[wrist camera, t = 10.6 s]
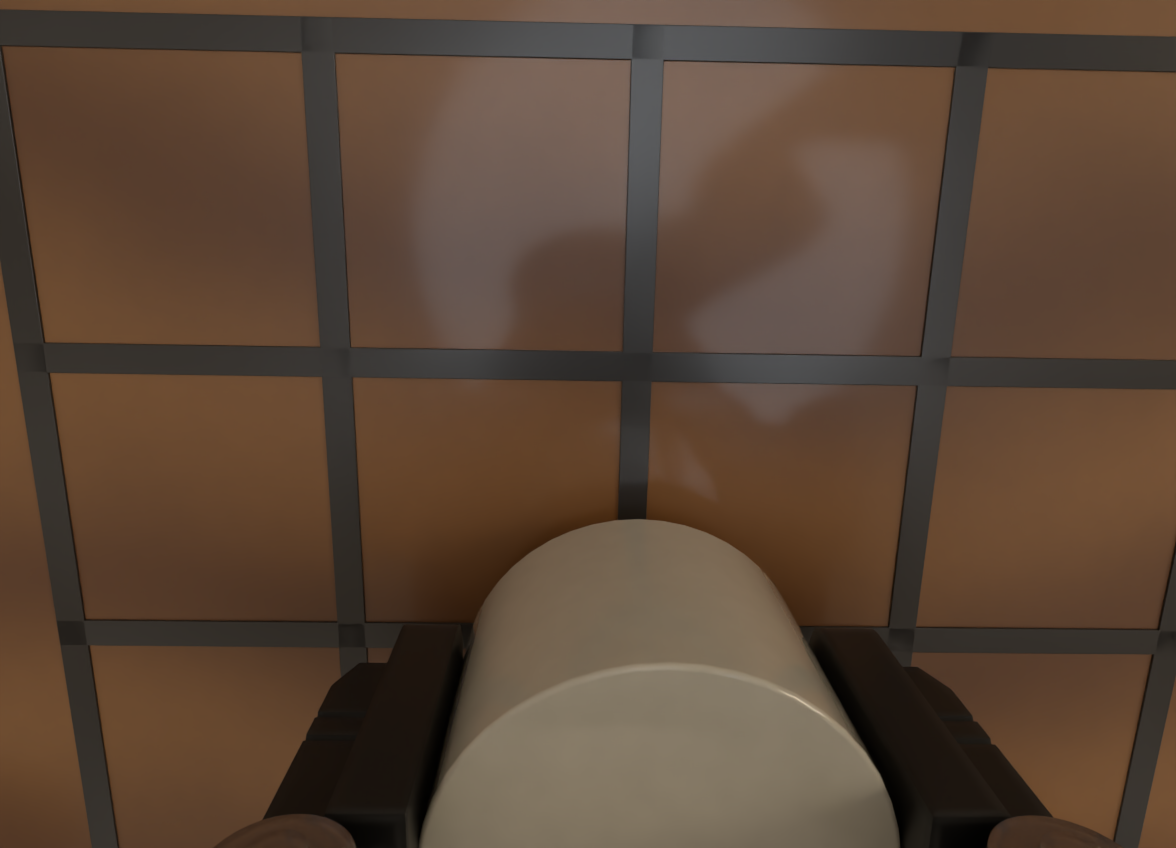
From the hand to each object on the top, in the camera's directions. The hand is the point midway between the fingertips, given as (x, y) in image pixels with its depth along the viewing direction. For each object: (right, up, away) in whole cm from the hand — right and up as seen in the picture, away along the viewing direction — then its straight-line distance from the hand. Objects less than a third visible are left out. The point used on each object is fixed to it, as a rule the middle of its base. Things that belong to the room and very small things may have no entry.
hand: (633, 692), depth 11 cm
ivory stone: (0, 0, 0) cm, 0 cm away
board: (0, +1, +3) cm, 3 cm away
